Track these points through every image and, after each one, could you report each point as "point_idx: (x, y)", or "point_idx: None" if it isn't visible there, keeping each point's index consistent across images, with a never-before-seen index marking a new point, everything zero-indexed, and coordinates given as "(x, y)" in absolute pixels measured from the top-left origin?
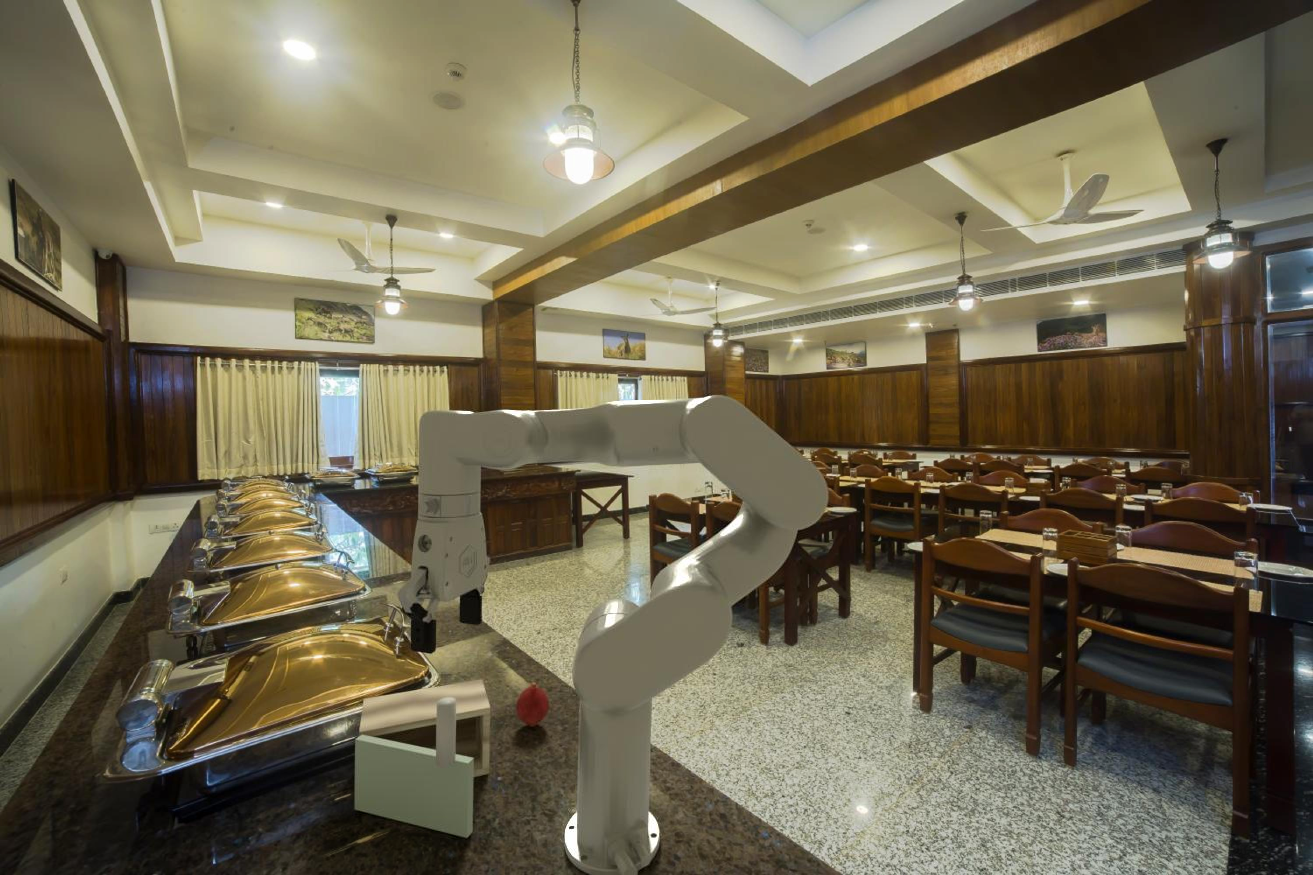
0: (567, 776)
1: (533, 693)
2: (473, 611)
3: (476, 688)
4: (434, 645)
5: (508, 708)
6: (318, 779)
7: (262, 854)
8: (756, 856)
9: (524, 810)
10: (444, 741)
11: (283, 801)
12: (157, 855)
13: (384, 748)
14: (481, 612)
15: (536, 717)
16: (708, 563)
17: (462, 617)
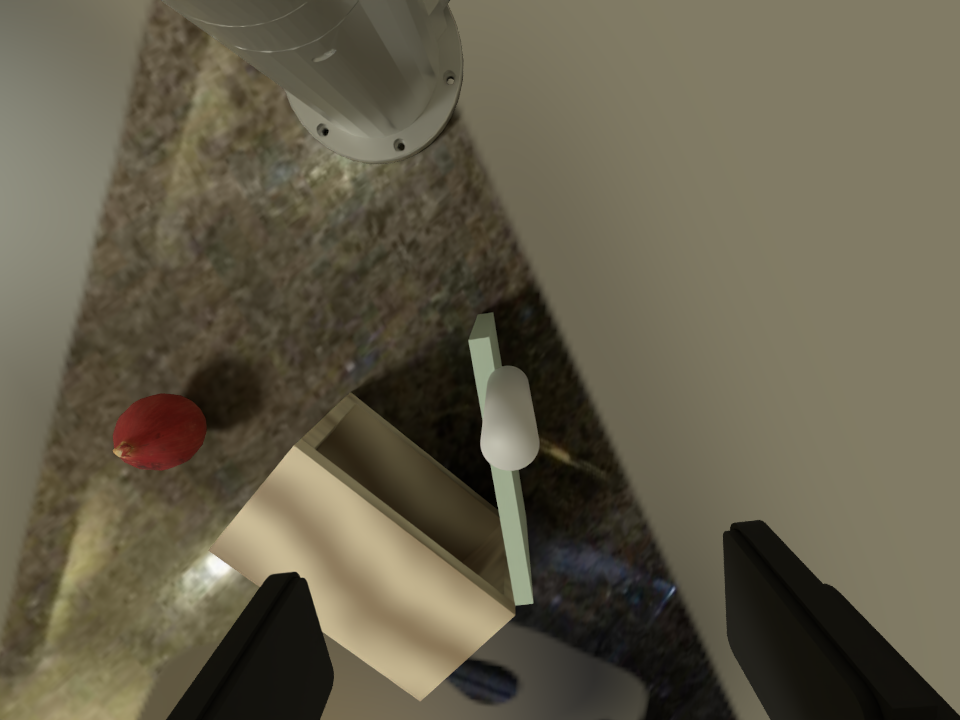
0: (278, 252)
1: (144, 436)
2: (273, 672)
3: (249, 531)
4: (766, 543)
5: (177, 494)
6: None
7: (639, 550)
8: None
9: (393, 269)
10: (528, 392)
11: (556, 617)
12: (692, 657)
13: (522, 534)
14: (238, 625)
15: (187, 401)
16: None
17: (317, 692)
